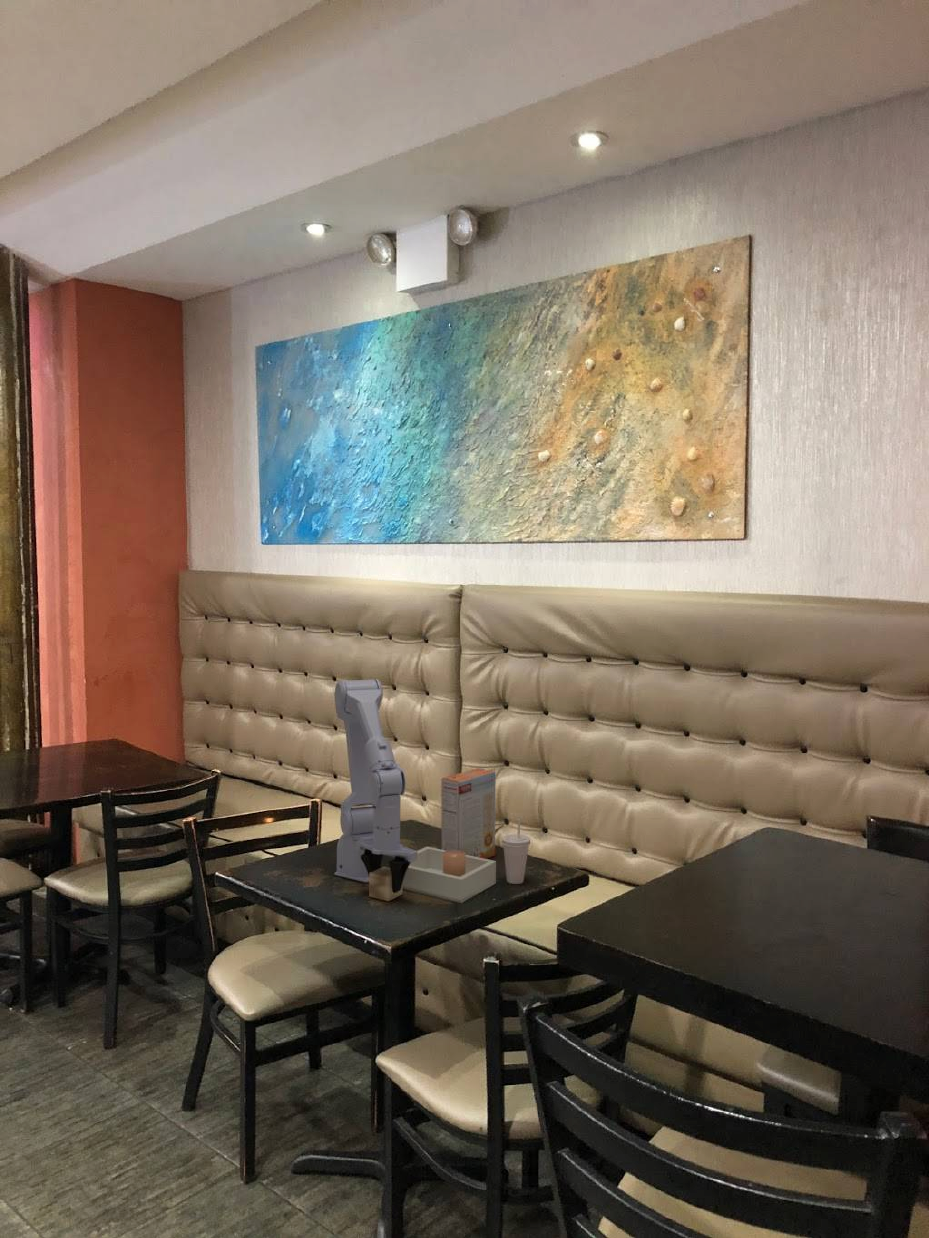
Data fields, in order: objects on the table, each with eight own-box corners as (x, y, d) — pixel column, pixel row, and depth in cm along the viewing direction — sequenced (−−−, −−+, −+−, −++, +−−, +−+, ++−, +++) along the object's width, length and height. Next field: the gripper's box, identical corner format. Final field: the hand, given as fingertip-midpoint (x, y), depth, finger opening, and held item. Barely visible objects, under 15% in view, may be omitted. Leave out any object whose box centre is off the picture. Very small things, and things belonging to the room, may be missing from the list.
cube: (369, 896, 201) (369, 873, 200) (383, 889, 205) (383, 866, 205) (388, 901, 198) (388, 877, 198) (402, 894, 202) (402, 871, 202)
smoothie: (527, 887, 209) (528, 824, 208) (498, 884, 210) (499, 822, 209) (531, 877, 215) (532, 816, 214) (503, 874, 216) (504, 814, 215)
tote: (389, 885, 208) (390, 863, 208) (426, 867, 220) (426, 846, 220) (461, 903, 198) (461, 879, 198) (495, 883, 211) (496, 861, 210)
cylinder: (437, 886, 207) (438, 854, 206) (450, 879, 211) (450, 848, 210) (457, 890, 204) (457, 858, 204) (469, 883, 208) (470, 852, 208)
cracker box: (476, 851, 233) (477, 766, 232) (495, 856, 229) (497, 770, 228) (439, 865, 222) (440, 776, 221) (459, 870, 219) (460, 781, 217)
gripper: (347, 824, 201) (346, 887, 202) (403, 836, 193) (402, 901, 194) (368, 816, 207) (367, 877, 208) (423, 827, 199) (422, 891, 200)
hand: (385, 888), depth 201 cm, fingers closed on cube, 5 cm apart
